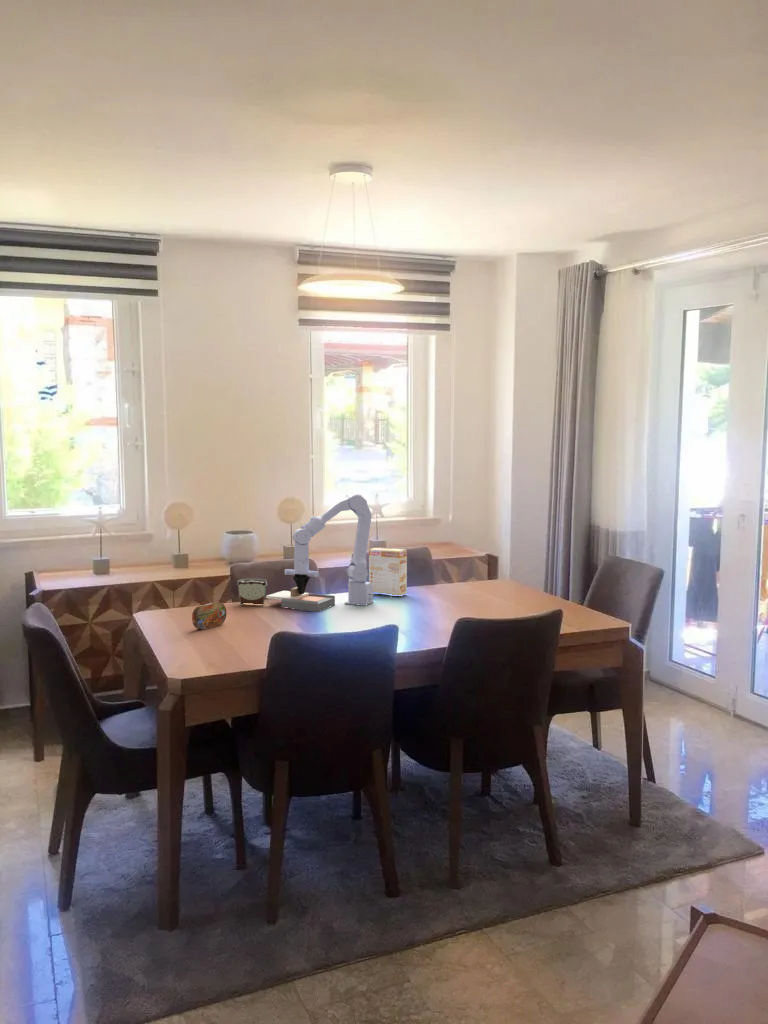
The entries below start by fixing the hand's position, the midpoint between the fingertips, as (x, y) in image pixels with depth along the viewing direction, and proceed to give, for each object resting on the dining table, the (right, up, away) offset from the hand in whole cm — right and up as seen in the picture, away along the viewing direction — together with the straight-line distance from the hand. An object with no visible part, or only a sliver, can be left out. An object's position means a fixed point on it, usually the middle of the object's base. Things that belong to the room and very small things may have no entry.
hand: (301, 593), depth 340 cm
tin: (-29, -8, -38) cm, 48 cm away
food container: (-19, -5, +4) cm, 20 cm away
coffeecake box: (+34, -3, +27) cm, 43 cm away
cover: (-6, -1, +3) cm, 7 cm away
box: (+3, -5, -1) cm, 6 cm away
